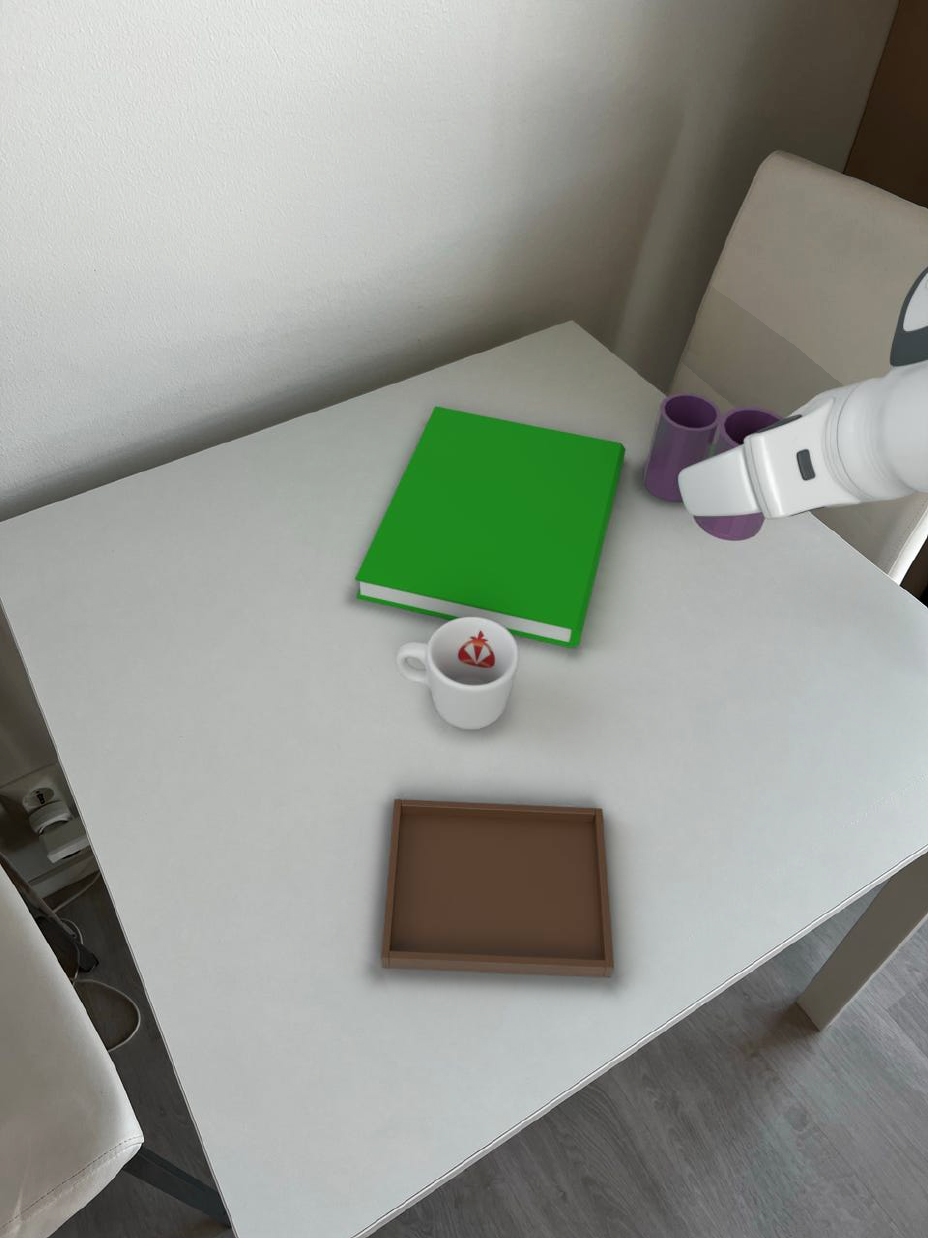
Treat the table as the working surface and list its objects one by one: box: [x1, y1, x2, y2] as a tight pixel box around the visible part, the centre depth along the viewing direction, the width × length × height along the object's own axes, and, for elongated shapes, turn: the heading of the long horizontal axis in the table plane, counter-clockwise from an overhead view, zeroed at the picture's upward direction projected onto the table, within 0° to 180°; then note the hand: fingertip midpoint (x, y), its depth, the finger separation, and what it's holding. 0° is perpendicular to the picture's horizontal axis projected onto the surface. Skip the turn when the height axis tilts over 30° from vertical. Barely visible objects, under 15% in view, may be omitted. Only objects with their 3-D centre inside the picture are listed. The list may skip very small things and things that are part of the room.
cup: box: [395, 617, 521, 731], centre depth 84 cm, size 11×8×8 cm
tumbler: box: [642, 392, 722, 503], centre depth 104 cm, size 6×6×10 cm
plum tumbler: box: [692, 406, 786, 542], centre depth 83 cm, size 6×6×10 cm
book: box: [354, 405, 626, 649], centre depth 101 cm, size 22×28×3 cm
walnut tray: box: [380, 798, 615, 979], centre depth 75 cm, size 17×13×2 cm
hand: (737, 466), depth 83 cm, fingers closed on plum tumbler, 6 cm apart
